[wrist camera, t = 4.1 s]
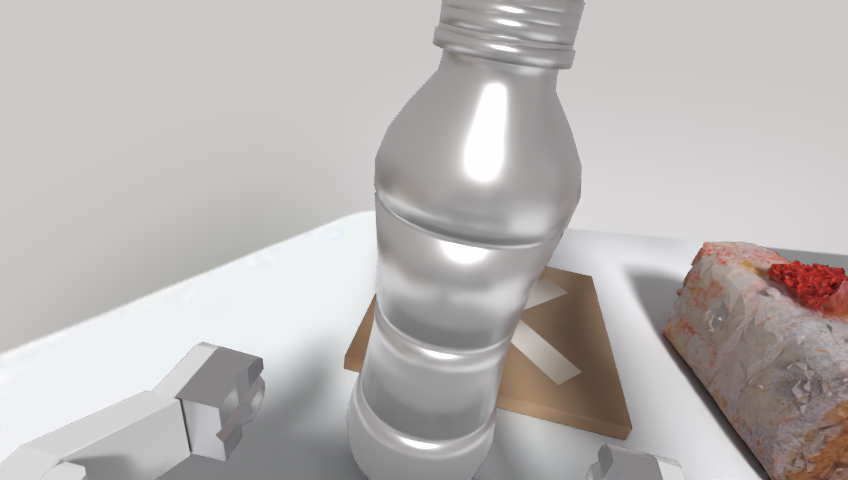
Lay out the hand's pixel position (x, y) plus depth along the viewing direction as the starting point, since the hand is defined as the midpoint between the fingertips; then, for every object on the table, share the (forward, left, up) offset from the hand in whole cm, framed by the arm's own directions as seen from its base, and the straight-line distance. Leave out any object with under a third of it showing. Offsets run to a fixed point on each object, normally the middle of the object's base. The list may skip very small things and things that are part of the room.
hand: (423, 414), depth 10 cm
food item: (-20, -16, -11) cm, 28 cm away
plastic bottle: (0, -7, -11) cm, 13 cm away
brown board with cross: (-3, -18, -11) cm, 21 cm away
